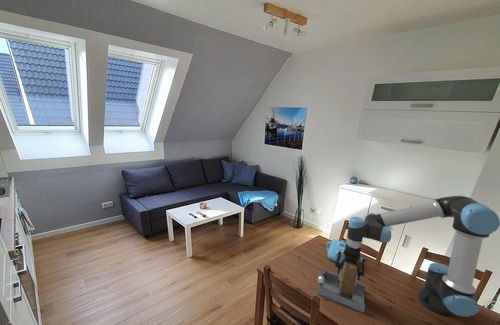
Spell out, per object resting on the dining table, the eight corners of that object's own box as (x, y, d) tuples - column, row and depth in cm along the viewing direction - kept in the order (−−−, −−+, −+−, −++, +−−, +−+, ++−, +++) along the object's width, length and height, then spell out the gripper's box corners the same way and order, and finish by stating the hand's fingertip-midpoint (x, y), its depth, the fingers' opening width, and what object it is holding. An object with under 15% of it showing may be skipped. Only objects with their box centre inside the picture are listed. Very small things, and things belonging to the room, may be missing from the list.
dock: (363, 291, 124) (366, 276, 122) (363, 313, 109) (366, 297, 107) (320, 274, 135) (322, 261, 133) (315, 293, 120) (317, 278, 118)
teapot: (332, 267, 143) (335, 249, 141) (322, 252, 159) (324, 236, 157) (357, 267, 145) (360, 249, 142) (345, 252, 161) (348, 236, 158)
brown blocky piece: (352, 301, 114) (358, 269, 110) (337, 296, 117) (342, 264, 113) (353, 288, 124) (358, 258, 120) (339, 283, 127) (344, 253, 123)
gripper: (374, 247, 113) (367, 284, 118) (334, 236, 122) (329, 270, 127) (375, 255, 107) (367, 293, 111) (332, 242, 116) (327, 278, 121)
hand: (347, 281), depth 119 cm, fingers closed on brown blocky piece, 7 cm apart
